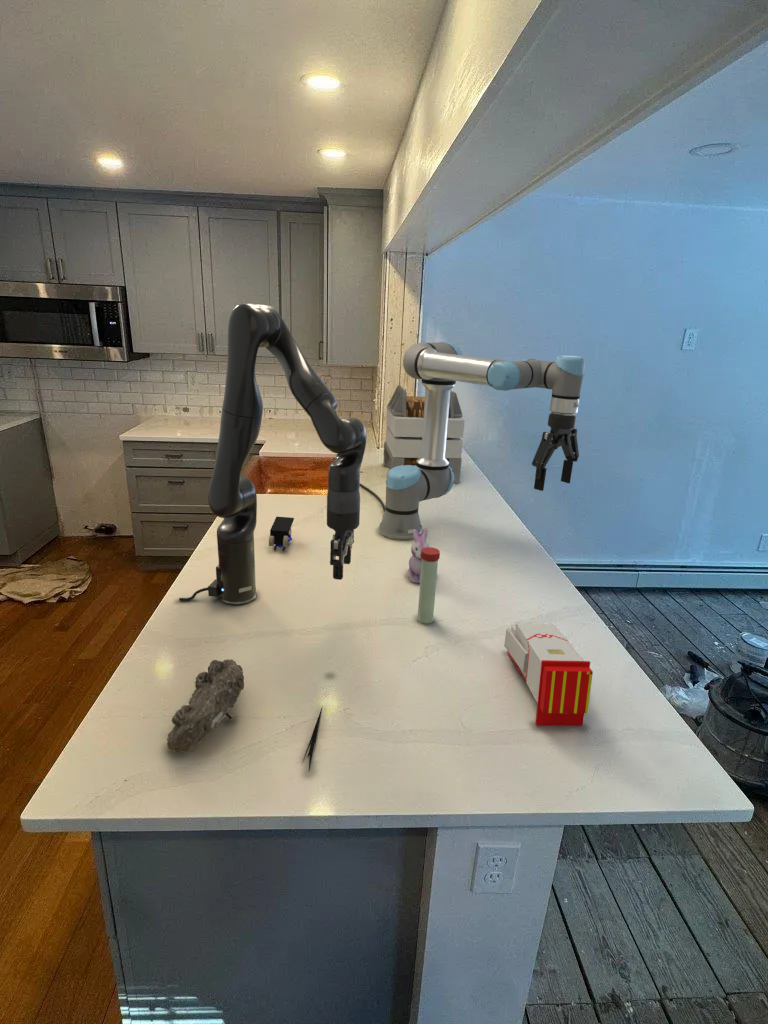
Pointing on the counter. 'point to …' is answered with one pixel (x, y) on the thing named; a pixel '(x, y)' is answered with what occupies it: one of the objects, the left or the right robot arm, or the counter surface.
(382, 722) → the counter surface
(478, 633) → the counter surface
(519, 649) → the toy
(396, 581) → the counter surface
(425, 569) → the bottle
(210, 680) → the fossil
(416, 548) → the figurine
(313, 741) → the feather
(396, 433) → the grey slatted crate
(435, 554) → the lid
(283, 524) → the figurine character
